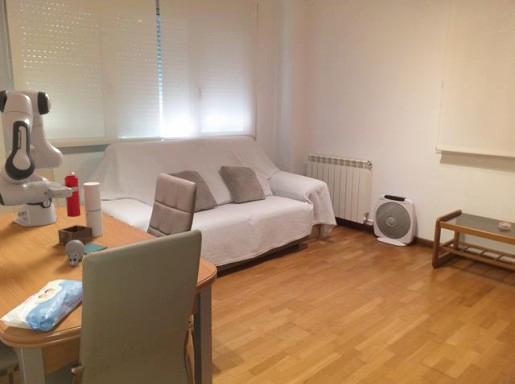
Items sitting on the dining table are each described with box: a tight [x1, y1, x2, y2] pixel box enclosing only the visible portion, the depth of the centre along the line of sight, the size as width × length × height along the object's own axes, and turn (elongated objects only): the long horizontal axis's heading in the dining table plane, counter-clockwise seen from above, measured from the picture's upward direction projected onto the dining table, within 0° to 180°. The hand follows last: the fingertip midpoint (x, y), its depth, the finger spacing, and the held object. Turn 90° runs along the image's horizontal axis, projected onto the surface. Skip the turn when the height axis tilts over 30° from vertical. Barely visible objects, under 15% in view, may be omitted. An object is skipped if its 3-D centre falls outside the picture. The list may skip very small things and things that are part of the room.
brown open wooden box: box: [57, 224, 94, 246], centre depth 184 cm, size 10×10×6 cm
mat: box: [84, 242, 108, 256], centre depth 175 cm, size 10×10×1 cm
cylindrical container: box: [83, 181, 104, 238], centre depth 192 cm, size 7×7×25 cm
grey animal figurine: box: [64, 240, 86, 268], centre depth 160 cm, size 7×12×8 cm, turn 14°
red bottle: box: [63, 170, 82, 218], centre depth 180 cm, size 5×6×20 cm
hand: (73, 187), depth 180 cm, fingers closed on red bottle, 5 cm apart
